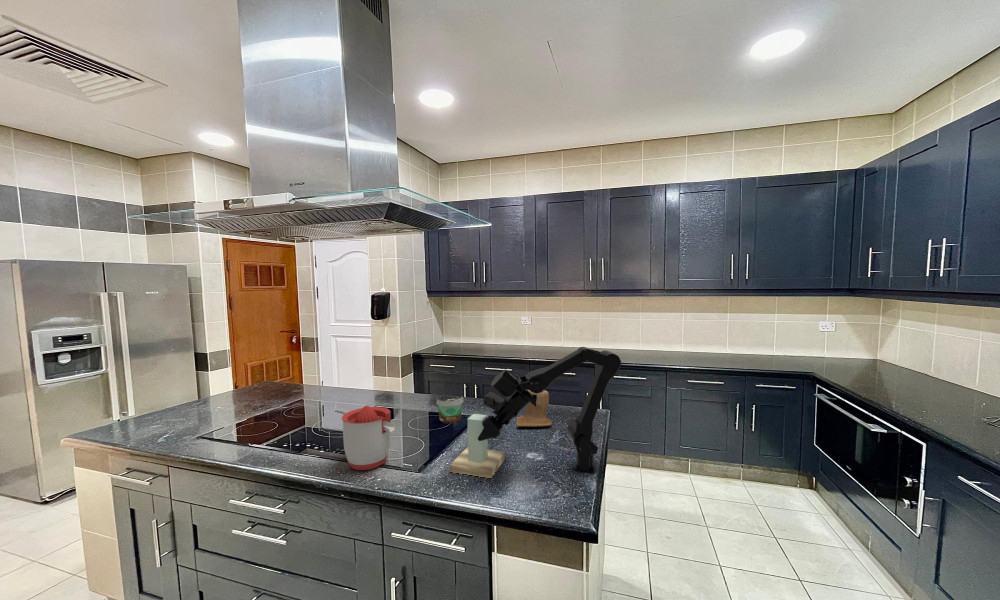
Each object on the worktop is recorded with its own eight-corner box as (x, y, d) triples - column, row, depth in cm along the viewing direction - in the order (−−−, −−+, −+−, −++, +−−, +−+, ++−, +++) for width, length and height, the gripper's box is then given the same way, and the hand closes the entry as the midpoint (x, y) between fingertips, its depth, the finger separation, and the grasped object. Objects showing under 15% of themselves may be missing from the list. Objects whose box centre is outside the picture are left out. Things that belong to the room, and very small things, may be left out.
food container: (440, 426, 162) (439, 403, 162) (436, 421, 168) (436, 399, 168) (467, 421, 167) (467, 399, 167) (463, 417, 173) (462, 395, 173)
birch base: (491, 479, 118) (490, 471, 118) (450, 472, 123) (449, 465, 123) (504, 459, 132) (504, 452, 132) (467, 453, 136) (467, 446, 136)
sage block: (482, 462, 124) (481, 420, 123) (468, 460, 125) (467, 418, 125) (487, 456, 129) (487, 415, 128) (474, 454, 130) (473, 413, 130)
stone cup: (549, 419, 169) (548, 385, 169) (553, 429, 157) (553, 393, 157) (515, 419, 169) (514, 386, 168) (516, 430, 157) (516, 394, 156)
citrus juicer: (383, 476, 121) (381, 414, 120) (333, 472, 124) (331, 412, 123) (404, 454, 137) (402, 399, 136) (359, 451, 139) (357, 397, 138)
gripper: (506, 378, 132) (477, 406, 137) (487, 393, 115) (455, 426, 119) (528, 402, 130) (499, 430, 134) (513, 421, 113) (479, 453, 117)
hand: (483, 434), depth 126 cm, fingers open, 9 cm apart
